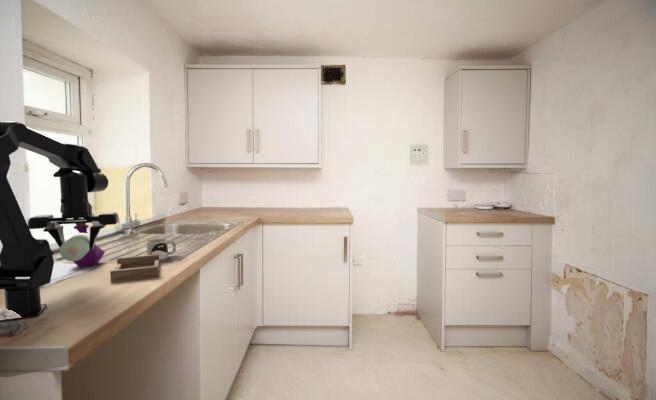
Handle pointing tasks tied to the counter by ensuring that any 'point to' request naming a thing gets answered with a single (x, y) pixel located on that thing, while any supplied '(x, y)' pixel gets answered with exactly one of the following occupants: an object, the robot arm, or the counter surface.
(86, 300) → the counter surface
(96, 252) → the perfume bottle
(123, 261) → the holder
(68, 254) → the roll
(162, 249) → the mug
